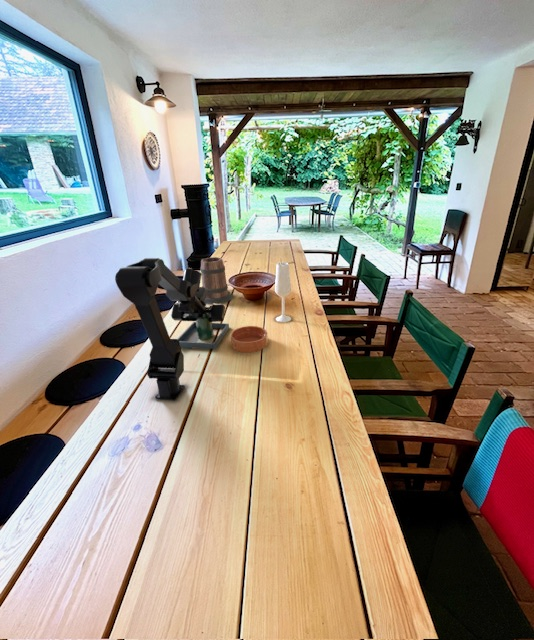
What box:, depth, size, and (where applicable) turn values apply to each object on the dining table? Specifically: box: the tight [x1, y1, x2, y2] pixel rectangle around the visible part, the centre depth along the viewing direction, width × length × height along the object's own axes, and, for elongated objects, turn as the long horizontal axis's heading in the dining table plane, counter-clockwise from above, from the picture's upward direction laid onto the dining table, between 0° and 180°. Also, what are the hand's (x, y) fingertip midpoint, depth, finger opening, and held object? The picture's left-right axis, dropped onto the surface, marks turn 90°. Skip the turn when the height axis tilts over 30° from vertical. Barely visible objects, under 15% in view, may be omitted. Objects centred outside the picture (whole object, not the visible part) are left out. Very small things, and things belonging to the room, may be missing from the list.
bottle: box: [195, 305, 215, 341], centre depth 121 cm, size 6×6×13 cm
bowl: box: [229, 325, 269, 353], centre depth 117 cm, size 13×13×4 cm
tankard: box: [199, 256, 233, 305], centre depth 163 cm, size 24×17×20 cm
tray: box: [177, 321, 230, 350], centre depth 124 cm, size 17×15×2 cm
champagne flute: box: [274, 262, 292, 323], centre depth 133 cm, size 7×7×24 cm
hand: (205, 320), depth 122 cm, fingers closed on bottle, 6 cm apart
